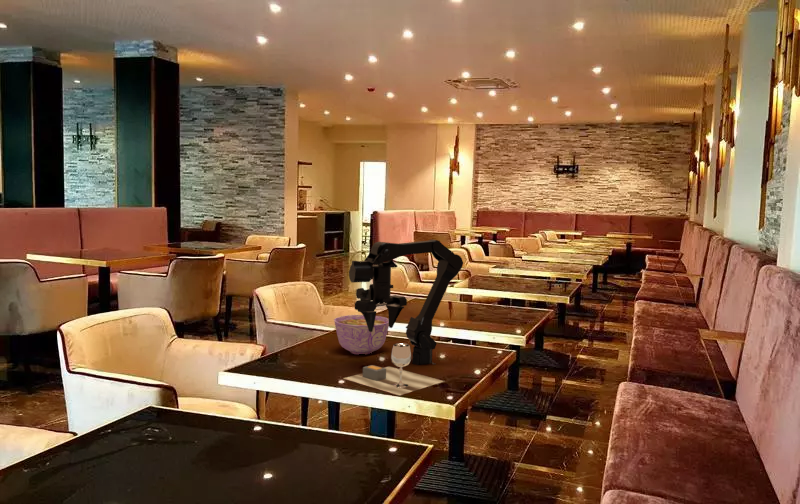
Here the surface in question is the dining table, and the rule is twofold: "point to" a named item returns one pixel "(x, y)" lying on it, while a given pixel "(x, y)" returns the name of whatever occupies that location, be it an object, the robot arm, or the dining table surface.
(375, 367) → the block
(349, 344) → the bowl of food
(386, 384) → the subfloor board
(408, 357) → the wineglass
